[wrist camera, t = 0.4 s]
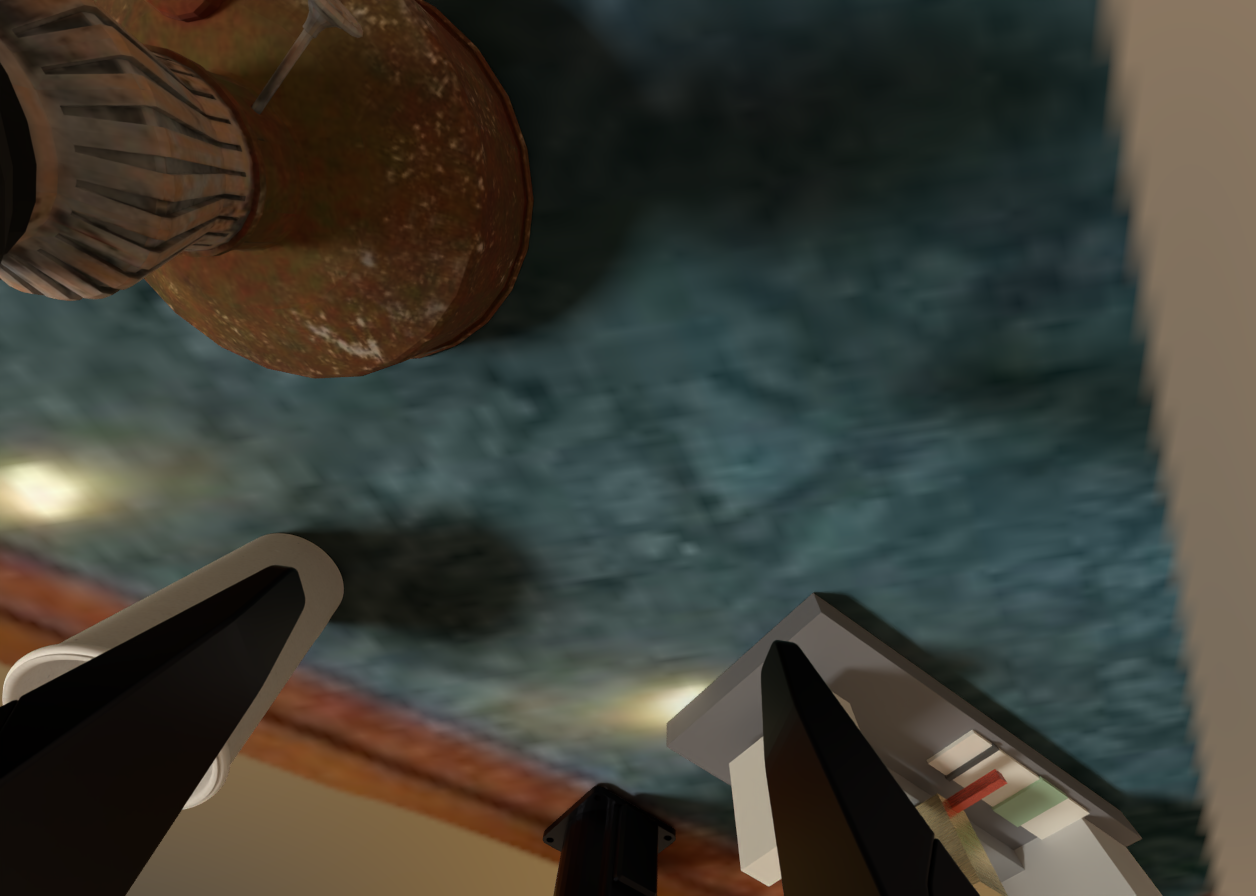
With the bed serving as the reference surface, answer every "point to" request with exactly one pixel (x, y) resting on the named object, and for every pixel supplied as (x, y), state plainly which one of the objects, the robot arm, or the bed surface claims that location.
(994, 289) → the bed surface
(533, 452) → the bed surface
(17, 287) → the oil lamp
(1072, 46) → the bed surface
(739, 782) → the plunger
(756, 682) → the base
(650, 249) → the bed surface
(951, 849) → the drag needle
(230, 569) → the dixie cup
